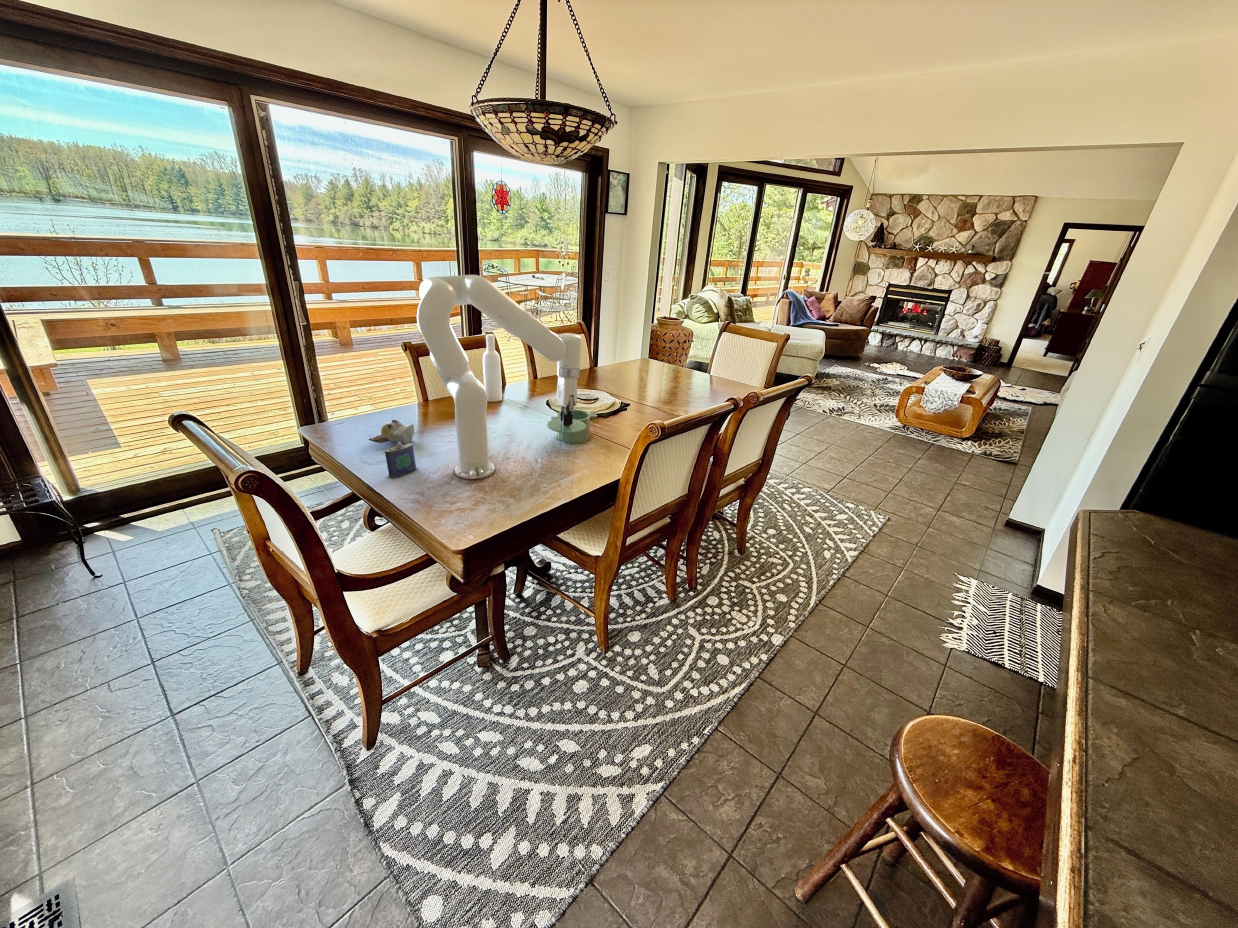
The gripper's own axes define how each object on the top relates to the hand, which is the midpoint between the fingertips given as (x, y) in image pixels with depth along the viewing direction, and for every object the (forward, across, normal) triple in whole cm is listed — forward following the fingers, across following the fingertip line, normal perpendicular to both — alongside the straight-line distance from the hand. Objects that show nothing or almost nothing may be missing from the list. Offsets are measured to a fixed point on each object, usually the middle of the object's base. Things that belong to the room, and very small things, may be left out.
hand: (566, 422), depth 169 cm
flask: (+14, +1, -54) cm, 56 cm away
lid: (+1, 0, 0) cm, 1 cm away
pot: (+13, -16, +8) cm, 22 cm away
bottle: (+13, -69, -16) cm, 72 cm away
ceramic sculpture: (+14, -26, -57) cm, 64 cm away
